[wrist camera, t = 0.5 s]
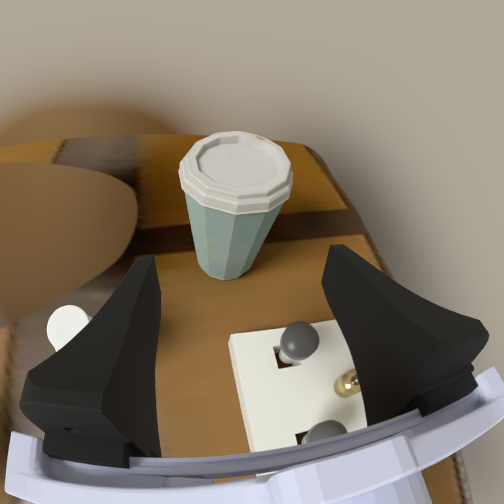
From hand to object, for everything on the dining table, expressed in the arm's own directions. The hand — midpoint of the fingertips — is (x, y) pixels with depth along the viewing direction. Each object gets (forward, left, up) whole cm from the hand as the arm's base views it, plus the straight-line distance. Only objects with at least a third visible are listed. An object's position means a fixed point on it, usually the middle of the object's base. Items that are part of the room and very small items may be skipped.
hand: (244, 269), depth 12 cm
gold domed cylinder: (-3, -12, -17) cm, 21 cm away
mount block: (-5, -8, -20) cm, 22 cm away
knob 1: (+1, -7, -17) cm, 18 cm away
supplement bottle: (+3, +12, -20) cm, 23 cm away
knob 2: (-8, -7, -17) cm, 20 cm away
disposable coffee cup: (+15, -3, -20) cm, 25 cm away
